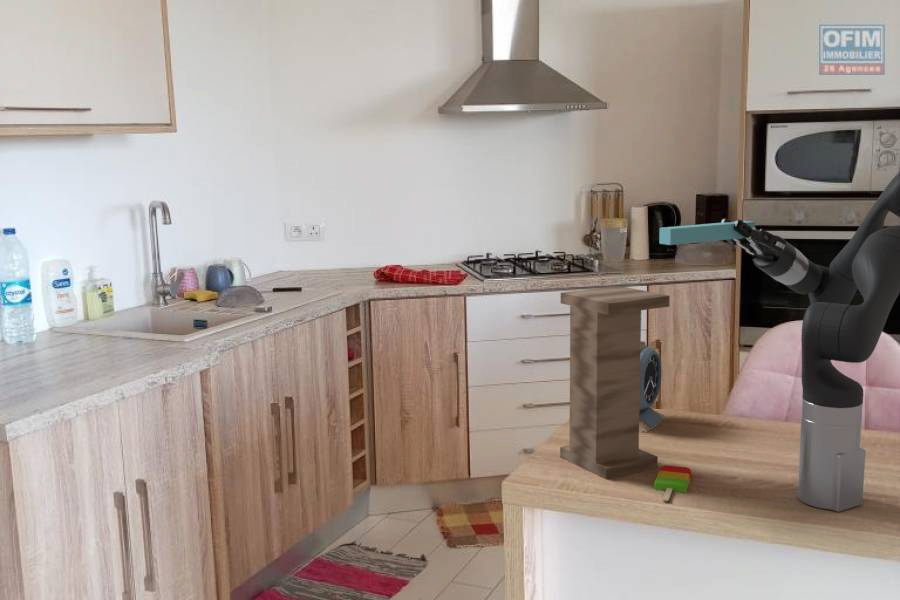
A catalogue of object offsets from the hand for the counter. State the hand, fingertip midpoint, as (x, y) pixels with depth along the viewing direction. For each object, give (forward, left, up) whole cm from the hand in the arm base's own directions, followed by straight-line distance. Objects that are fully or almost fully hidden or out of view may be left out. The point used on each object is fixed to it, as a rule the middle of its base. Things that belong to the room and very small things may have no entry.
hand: (729, 223), depth 183 cm
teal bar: (0, +6, -3) cm, 6 cm away
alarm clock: (+17, +9, -44) cm, 48 cm away
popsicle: (-16, +28, -44) cm, 55 cm away
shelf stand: (0, +29, -43) cm, 52 cm away
